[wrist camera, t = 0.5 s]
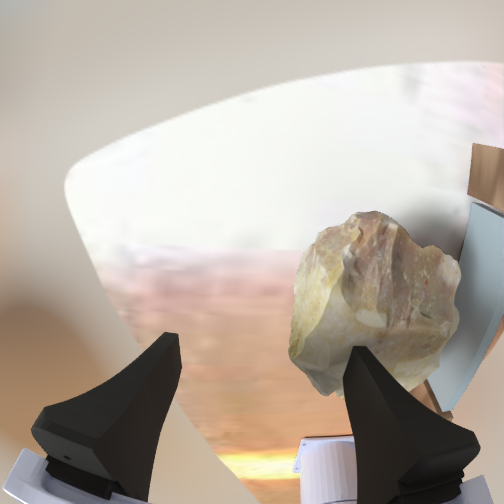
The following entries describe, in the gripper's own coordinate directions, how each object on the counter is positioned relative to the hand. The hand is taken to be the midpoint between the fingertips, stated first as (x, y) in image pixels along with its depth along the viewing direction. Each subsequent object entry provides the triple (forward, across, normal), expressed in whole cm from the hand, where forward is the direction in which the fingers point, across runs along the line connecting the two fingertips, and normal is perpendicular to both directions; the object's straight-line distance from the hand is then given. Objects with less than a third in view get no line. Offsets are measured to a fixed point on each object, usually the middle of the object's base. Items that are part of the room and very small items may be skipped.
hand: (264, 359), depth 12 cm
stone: (+9, -8, +1) cm, 12 cm away
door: (+9, -16, +2) cm, 19 cm away
